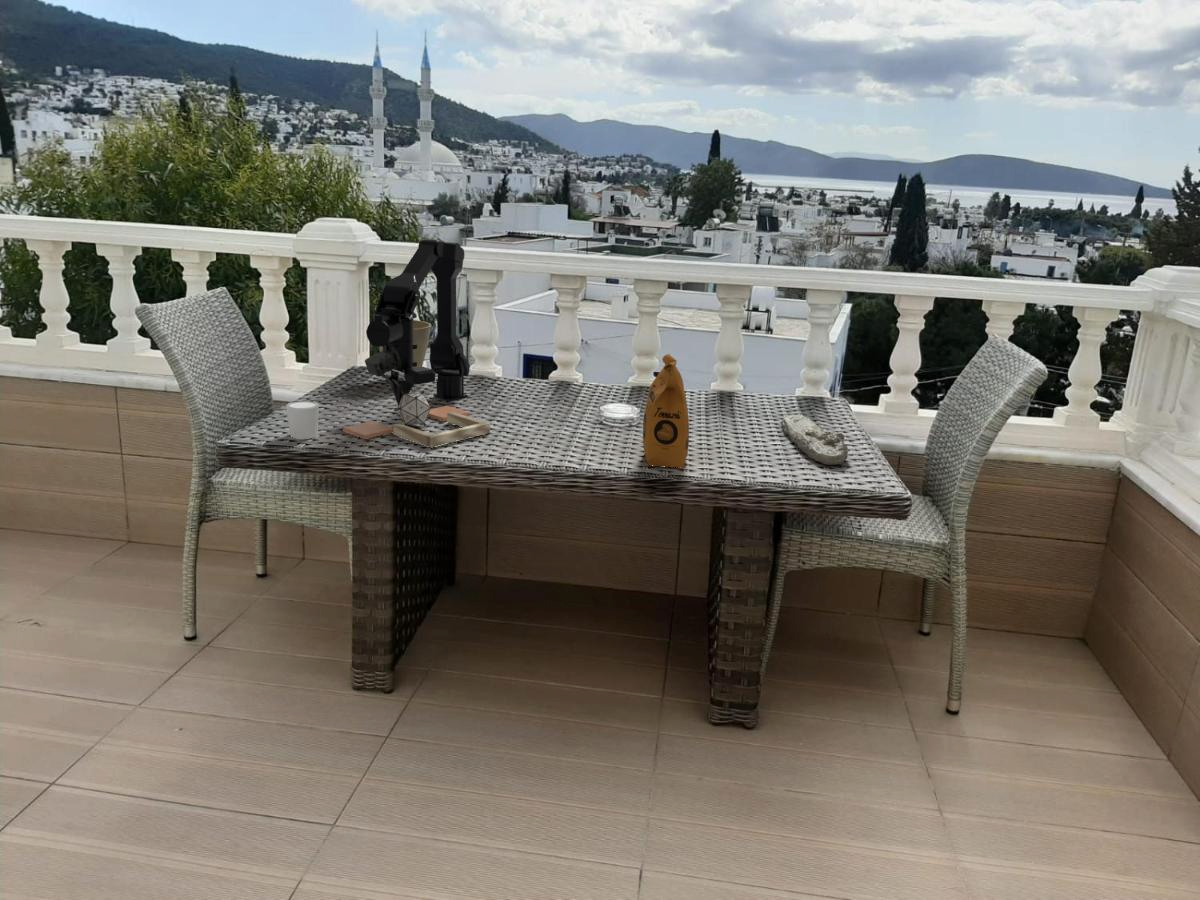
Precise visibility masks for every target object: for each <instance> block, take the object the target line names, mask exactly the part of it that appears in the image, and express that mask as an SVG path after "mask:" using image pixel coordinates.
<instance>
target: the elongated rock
mask: <svg viewBox="0 0 1200 900" xmlns="http://www.w3.org/2000/svg"><path fill="white" fill-rule="evenodd" d="M780 424H781V428H782V429H783V432H784V433H785V435H787V436H788V437H789V439H790V441H791V442H792V443H793V444H795V445H796V446H797V448H798V449H799V450H801V452H802V453H804V454H805V455H806V456H807V457H808V458H809V459H810V460H814V461H815V462H819V463H821V464H823V465H831V466H832V465H843V464H844V461H846V460H847V459H848V454H849V449H848V446H847V445H846V443H845V441H844V440H845V438H846V437H845V435H844V433H842V432H836V431H832V432H831V431H829V430H826V431H825V430H824V429H823V428H822V427H820V426H819V425H818V424H817V423H815V422H814V421H813V420H811V419H810V418H809V416H805V415H802V414H787V415H785V416H784V417H783V418H781V422H780Z"/></svg>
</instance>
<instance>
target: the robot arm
mask: <svg viewBox="0 0 1200 900" xmlns="http://www.w3.org/2000/svg"><path fill="white" fill-rule="evenodd" d="M417 247H418V248H417V249H416V250H415V252H414V254H413V256H412V257H411V259H410V260H409V261H408V263H407V264H406V266H405V268H404V270H403V271H402V273H401V274H398V275H397V276H394V277H393V278H390V280H388V282H387V283H386V284H385V285H384V287H383V289H382V290H381V292H380V297H379V298H378V302H377V305H376V308H375V311H374V316H373V319H374V320H372V321H371V322H370V323H369V324H368V325H367V328H366V330H365V332H366V333H365V334H366V338H367V340H368V342H369V343H370V344H371V345H373V346H375V347H378V348H379V347H381V346H383V350H382V351H381V352H380V351H379V352H377V353H375V354H372V355H370V356H369V357H367V358H365V360H364V363H365V366H366V370H367V372H368V374H369V375H374V376H376V377H382V378H383V379H385V380H386V381H388V383H389V384H390V386H391V388H392V389H391V390H392V392H393V395H394V397H395V401H396V403H397V406H398V405H399V403H400V401H401V398H402V396H403V394H402V393H401V391H403V392H404V394H410V392H411V391H412V388H413V387H414V386H415V385H421V384H423V385H424V384H429V383H435V382H436V393H434V394H433V397H435V398H439V399H443V400H445V401H454V400H458V399H459V400H460V399H463V398H468V397H469V396H468V394H465V392H464V391H465V390H464V389H465V384H464V382H465V381H464V380H465V379H464V378H465V377H468V376H469V374H470V371H471V369H470V368H471V365H470V363H469V360H468V359H467V357H466V355H465V353H464V344H462V341H461V340H460V339H459V336H458V334H457V333H458V332H457V331H458V330H457V327H458V326H457V322H458V321H457V277H458V276H459V274H460V272H461V271H462V269H463V265H464V264H463V263H464V260H465V250H464V248H463V247H461V245H460V243H459V242H449V241H448V242H446V241H440V240H439V239H429V238H428V239H427V238H424V239H420V240H419V242H418V246H417ZM430 271H432V274H433V275H434V276H435V278H436V318H437V319H436V328H437V329H436V331H437V332H436V333H437V335H436V337H435V339H434V340H433V342H431V344H430V345H429V363H430V368H428V367H425V366H422V367H417V368H412V367H416V366H417V362H415V361H413V349H417V344H413V320H414V319H417V316H418V315H417V313H415V309H416V308H417V306H418V304H419V301H420V298H421V293H420V292H421V291H420V287H422V284H423V282H424V281H425V279H426V278H427V276H428V275H429V272H430ZM436 375H437V380H436Z"/></svg>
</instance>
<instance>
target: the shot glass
mask: <svg viewBox="0 0 1200 900" xmlns="http://www.w3.org/2000/svg"><path fill="white" fill-rule="evenodd" d="M285 409H286V415H287V422H288V428H289V435H290V438H292V437H293V438H292V439H294V438H299V439H298V440H311V439H310V438H312V439H314V437H315V438H316V436H317V437H318V432H319V431H318V429H319V428H318V427H319V414H320V413H319V412H320V411H319V410H320V404H319V403H317V402H315V401H306V400H305V401H294V402H290V403H287V404H286V405H285Z"/></svg>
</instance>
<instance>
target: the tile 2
mask: <svg viewBox="0 0 1200 900" xmlns="http://www.w3.org/2000/svg"><path fill="white" fill-rule="evenodd" d="M449 412H454V413H458V414H461V415H464V416H468V417H470V416H469V414H470V412H469V411H467V410H463V409H459V408H457V407H453V406H451V405H443V406H439V407H434V408H431V409H430V412H429V414H428V416H427V418H429V417H431V418H430V419H433V418H434V419H433V420H436V419H438V420H437V421H439V420H441V421H440V422H442V421H445V422H447V421H446V420H447V413H449Z"/></svg>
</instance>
